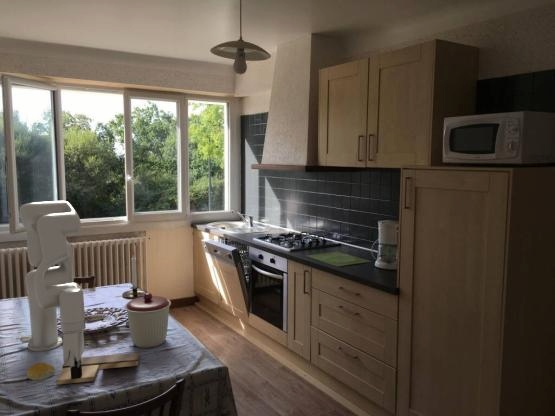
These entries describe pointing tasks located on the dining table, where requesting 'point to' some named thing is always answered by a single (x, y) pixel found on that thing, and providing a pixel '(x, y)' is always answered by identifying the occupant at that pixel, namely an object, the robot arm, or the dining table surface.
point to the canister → (148, 320)
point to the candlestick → (134, 292)
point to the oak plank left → (87, 375)
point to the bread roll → (40, 371)
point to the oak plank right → (118, 365)
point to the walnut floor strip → (105, 359)
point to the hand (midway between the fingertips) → (76, 377)
